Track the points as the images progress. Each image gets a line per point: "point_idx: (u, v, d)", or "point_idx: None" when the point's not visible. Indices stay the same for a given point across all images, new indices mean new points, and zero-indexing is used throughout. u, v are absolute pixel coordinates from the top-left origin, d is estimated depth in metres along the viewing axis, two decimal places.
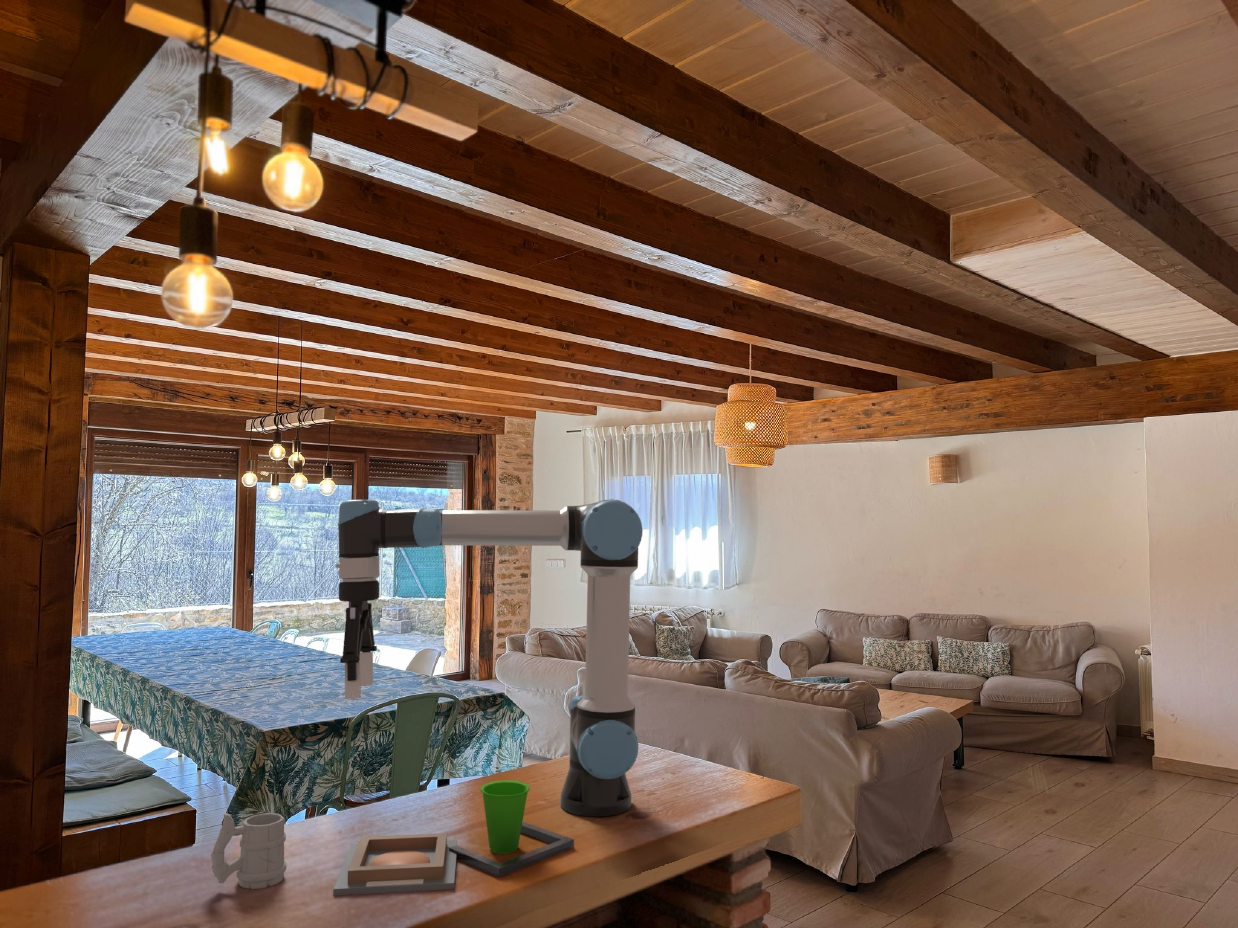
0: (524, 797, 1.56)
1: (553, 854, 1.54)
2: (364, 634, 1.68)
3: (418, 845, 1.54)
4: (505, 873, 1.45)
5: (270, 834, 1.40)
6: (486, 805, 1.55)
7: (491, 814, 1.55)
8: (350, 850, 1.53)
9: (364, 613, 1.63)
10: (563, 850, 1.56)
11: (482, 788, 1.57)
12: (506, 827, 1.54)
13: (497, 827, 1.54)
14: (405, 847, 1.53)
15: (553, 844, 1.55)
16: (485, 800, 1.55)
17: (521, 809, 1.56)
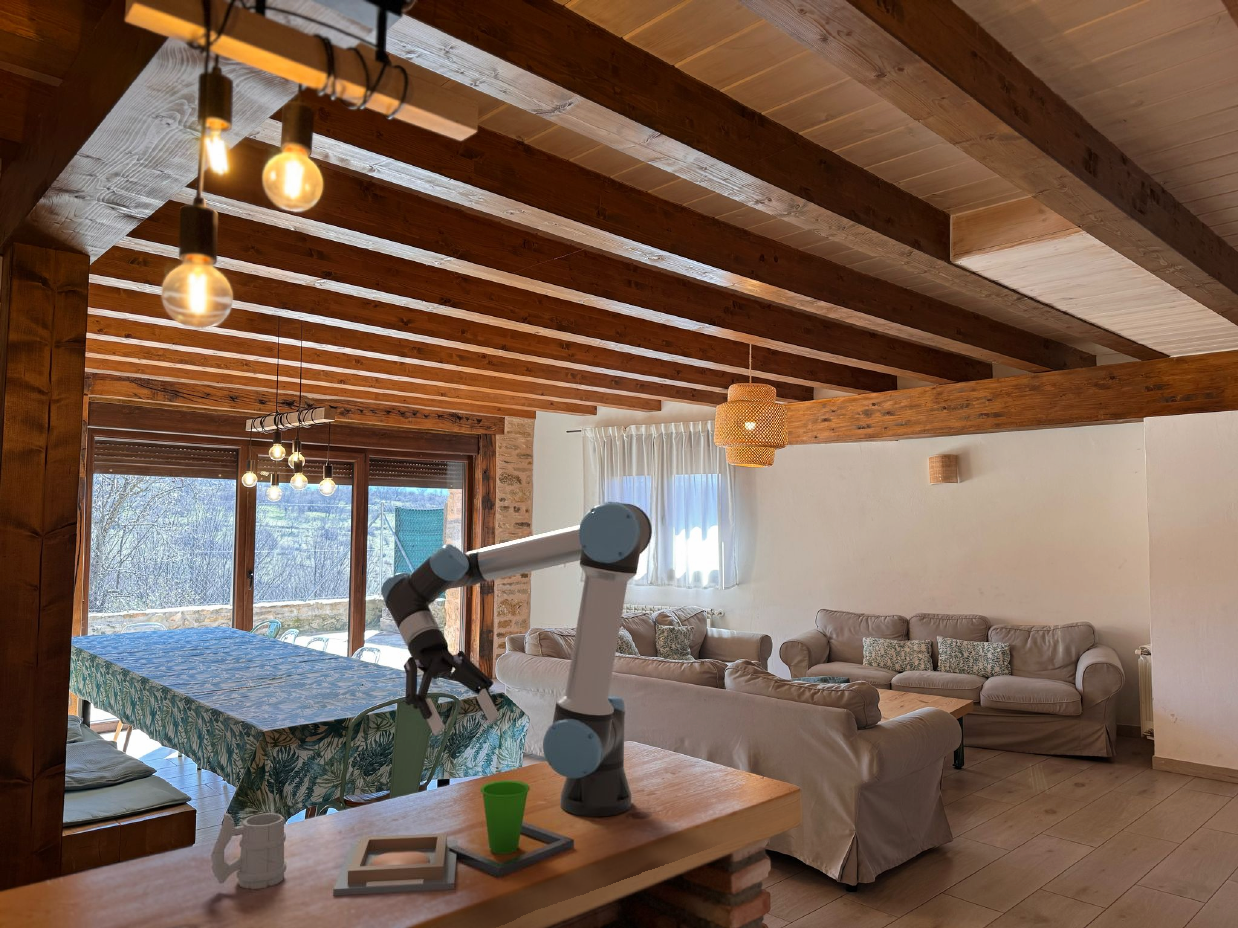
0: (524, 797, 1.56)
1: (553, 854, 1.54)
2: (463, 678, 1.74)
3: (418, 845, 1.54)
4: (505, 873, 1.45)
5: (270, 834, 1.40)
6: (486, 805, 1.55)
7: (491, 814, 1.55)
8: (350, 850, 1.53)
9: (431, 660, 1.71)
10: (563, 850, 1.56)
11: (482, 788, 1.57)
12: (506, 827, 1.54)
13: (497, 827, 1.54)
14: (405, 847, 1.53)
15: (553, 844, 1.55)
16: (485, 800, 1.55)
17: (521, 809, 1.56)
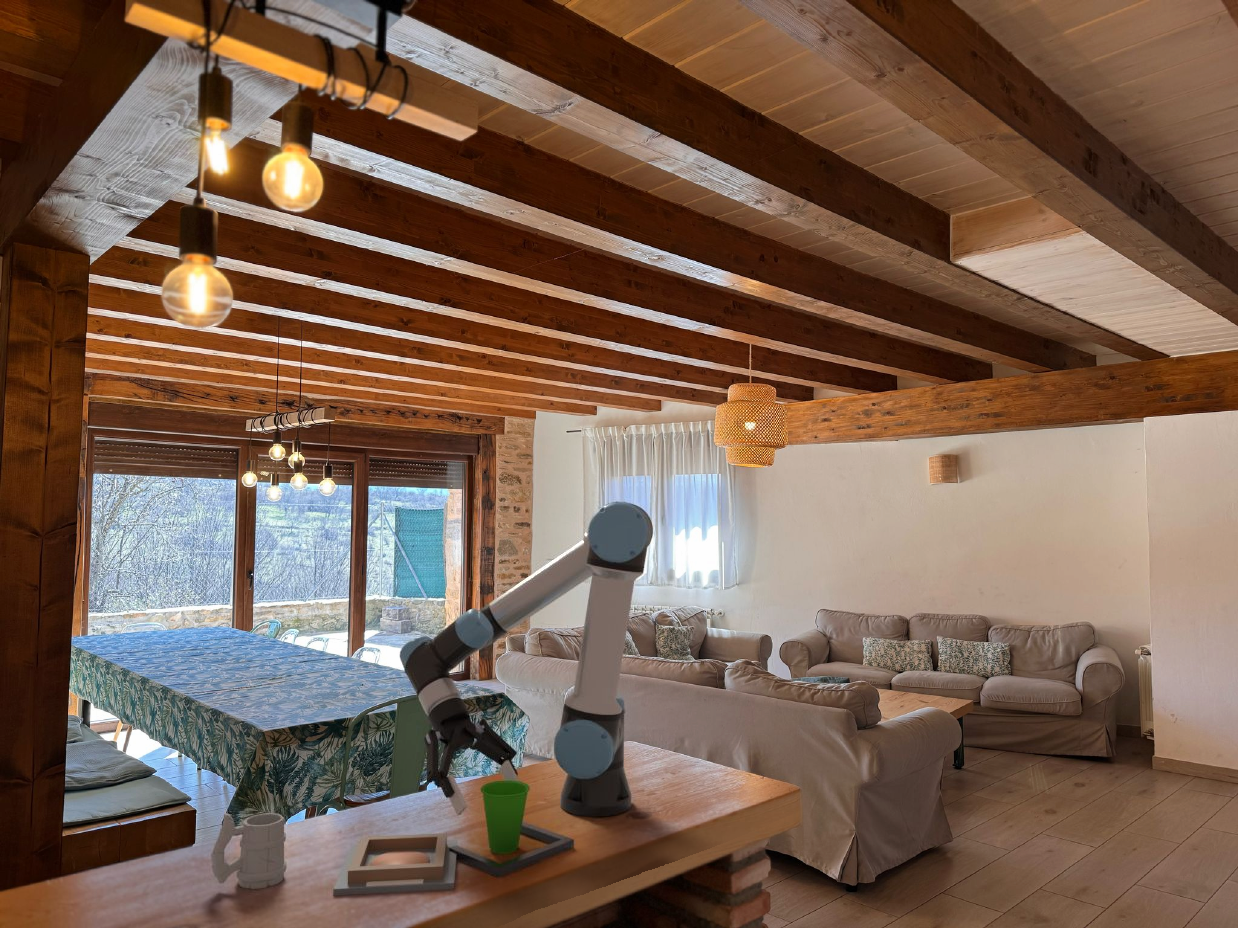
0: (524, 797, 1.56)
1: (553, 854, 1.54)
2: (486, 749, 1.67)
3: (418, 845, 1.54)
4: (505, 873, 1.45)
5: (270, 834, 1.40)
6: (486, 805, 1.55)
7: (491, 814, 1.55)
8: (350, 850, 1.53)
9: (452, 731, 1.64)
10: (563, 850, 1.56)
11: (482, 788, 1.57)
12: (506, 827, 1.54)
13: (497, 827, 1.54)
14: (405, 847, 1.53)
15: (553, 844, 1.55)
16: (485, 800, 1.55)
17: (521, 809, 1.56)
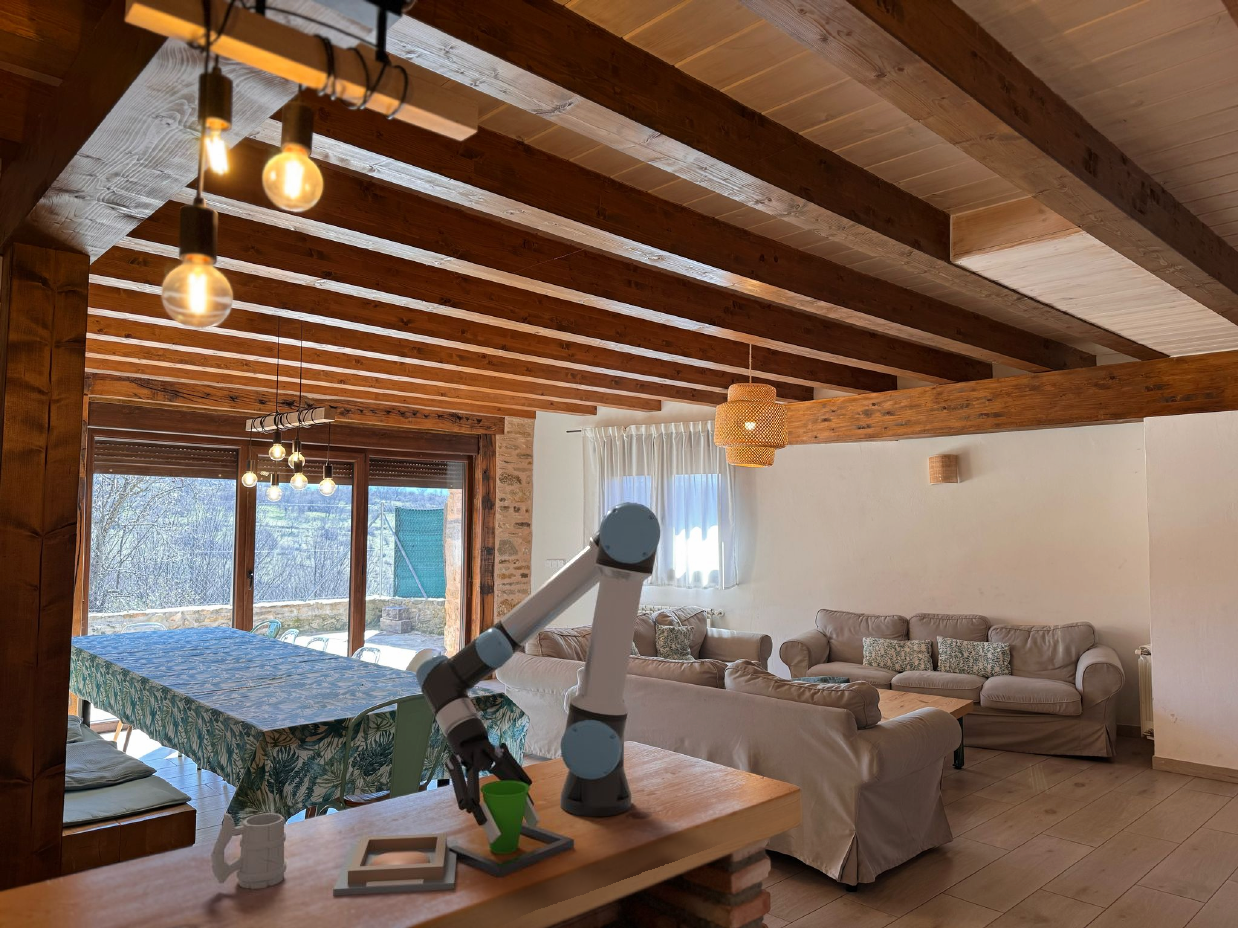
0: (524, 797, 1.56)
1: (553, 854, 1.54)
2: (502, 774, 1.63)
3: (418, 845, 1.54)
4: (505, 873, 1.45)
5: (270, 834, 1.40)
6: None
7: (491, 814, 1.55)
8: (350, 850, 1.53)
9: (472, 754, 1.61)
10: (563, 850, 1.56)
11: (482, 788, 1.57)
12: (506, 827, 1.54)
13: None
14: (405, 847, 1.53)
15: (553, 844, 1.55)
16: (485, 800, 1.55)
17: (521, 809, 1.56)
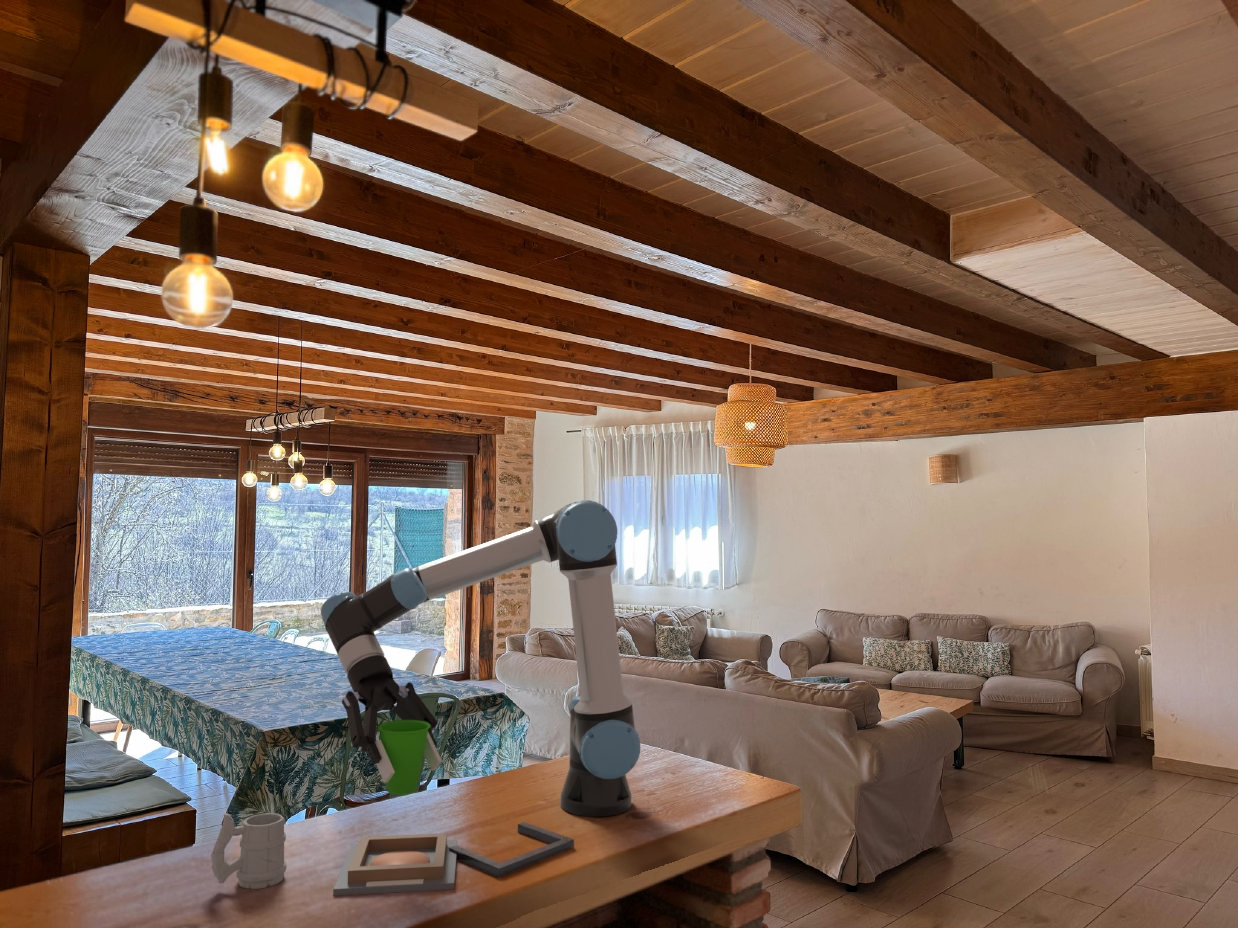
0: (423, 735, 1.48)
1: (553, 854, 1.54)
2: (405, 714, 1.55)
3: (418, 845, 1.54)
4: (505, 873, 1.45)
5: (270, 834, 1.40)
6: (382, 743, 1.47)
7: (387, 752, 1.46)
8: (350, 850, 1.53)
9: (372, 691, 1.53)
10: (563, 850, 1.56)
11: (379, 726, 1.49)
12: (402, 766, 1.46)
13: (393, 766, 1.46)
14: (405, 847, 1.53)
15: (553, 844, 1.55)
16: (381, 738, 1.47)
17: (419, 748, 1.47)
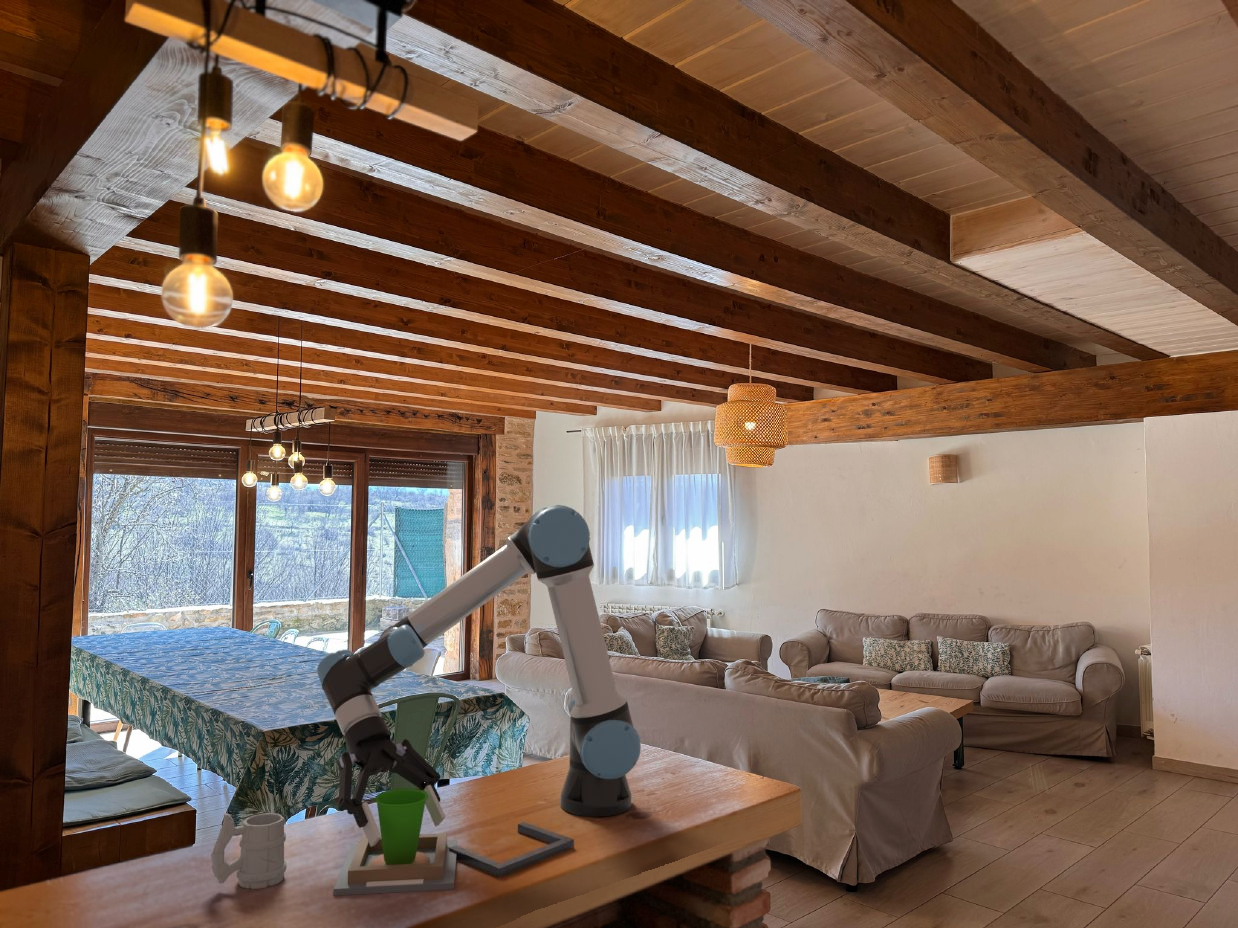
0: (421, 806, 1.47)
1: (553, 854, 1.54)
2: (406, 772, 1.55)
3: (418, 845, 1.54)
4: (505, 873, 1.45)
5: (270, 834, 1.40)
6: (380, 815, 1.46)
7: (384, 825, 1.45)
8: (350, 850, 1.53)
9: (369, 753, 1.52)
10: (563, 850, 1.56)
11: (377, 797, 1.48)
12: (400, 839, 1.45)
13: (390, 838, 1.45)
14: None
15: (553, 844, 1.55)
16: (379, 810, 1.46)
17: (417, 819, 1.46)
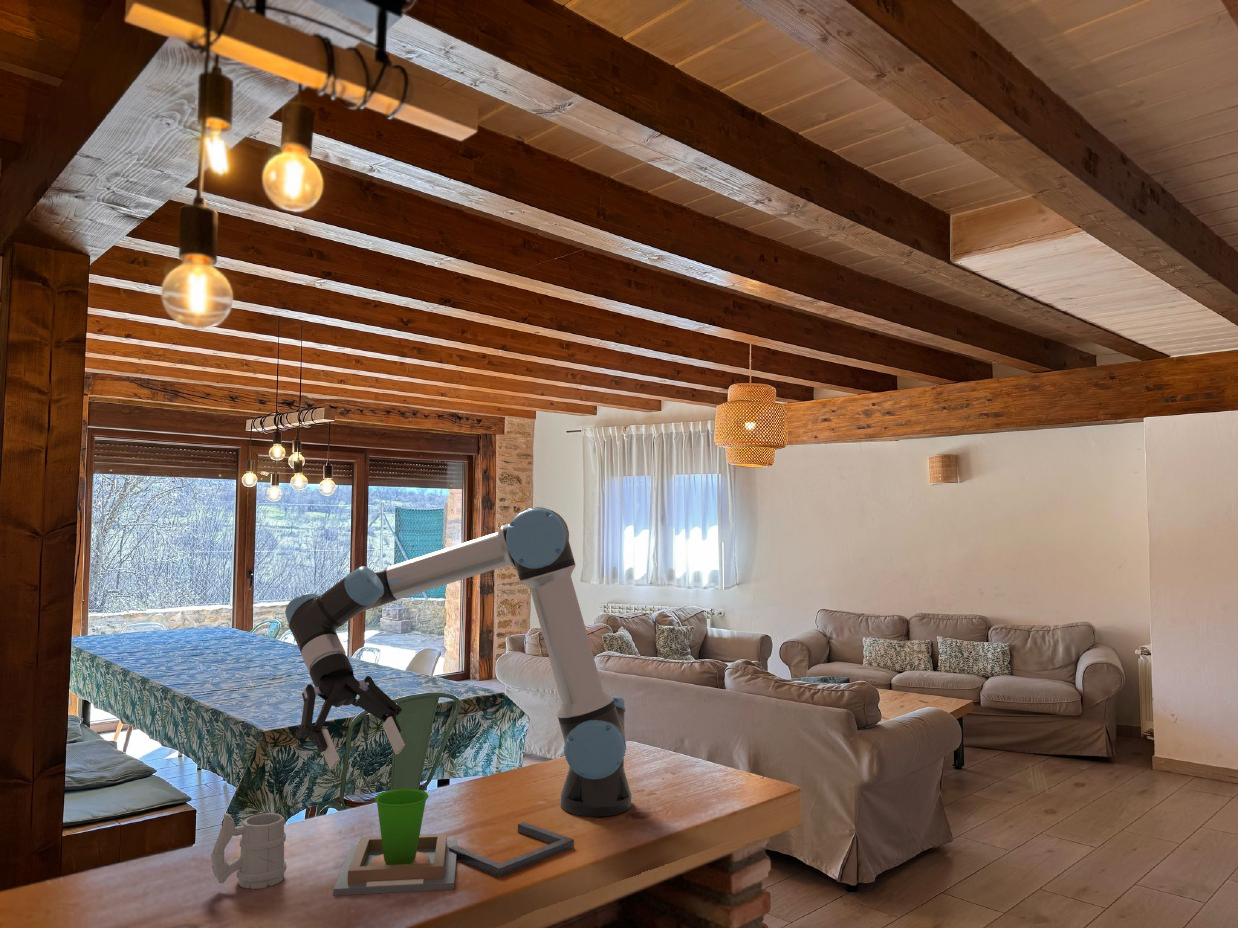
0: (421, 806, 1.47)
1: (553, 854, 1.54)
2: (369, 706, 1.64)
3: (418, 845, 1.54)
4: (505, 873, 1.45)
5: (270, 834, 1.40)
6: (380, 815, 1.46)
7: (384, 825, 1.45)
8: (350, 850, 1.53)
9: (332, 687, 1.61)
10: (563, 850, 1.56)
11: (377, 797, 1.48)
12: (400, 839, 1.45)
13: (390, 838, 1.45)
14: None
15: (553, 844, 1.55)
16: (379, 810, 1.46)
17: (417, 819, 1.46)
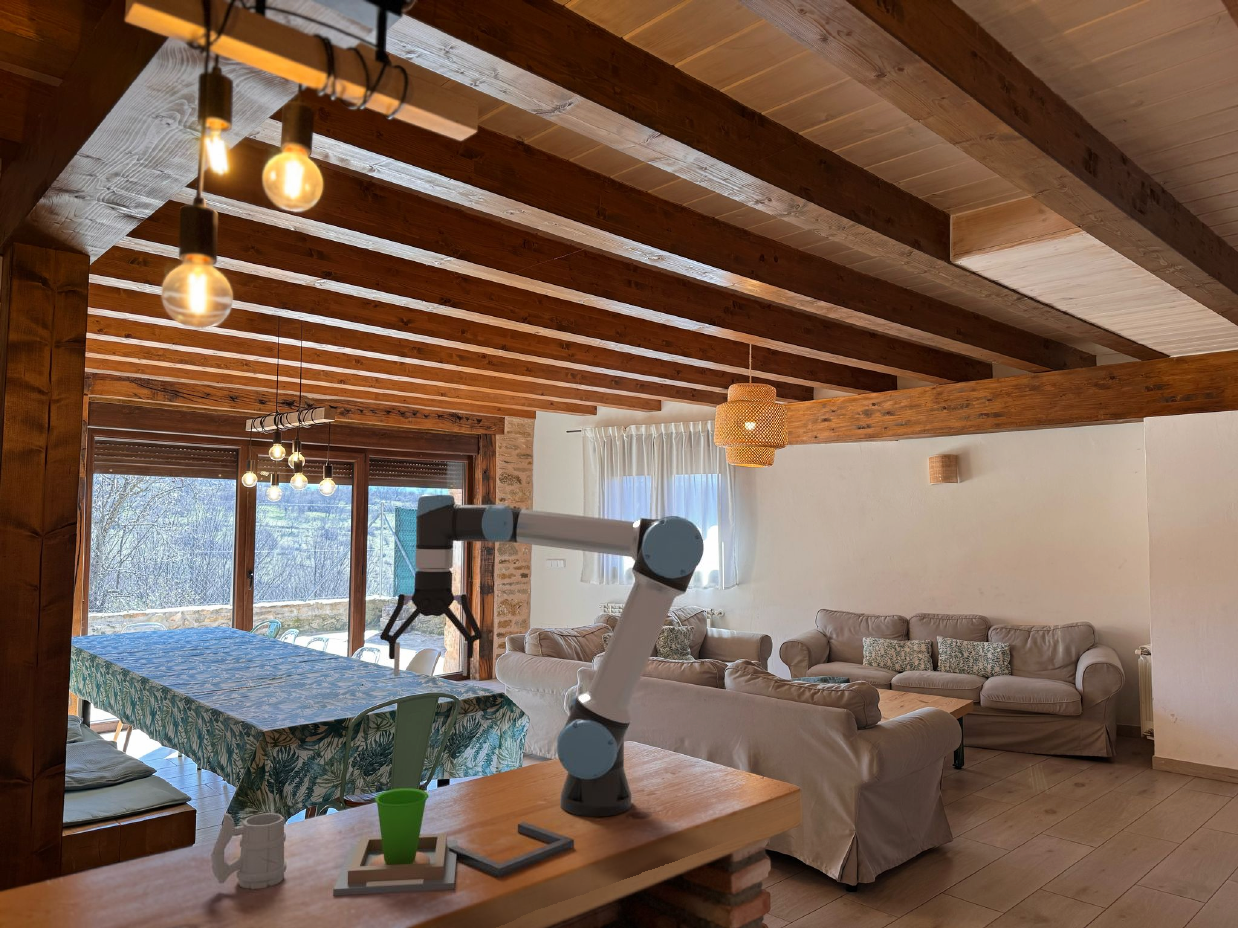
0: (421, 806, 1.47)
1: (553, 854, 1.54)
2: None
3: (418, 845, 1.54)
4: (505, 873, 1.45)
5: (270, 834, 1.40)
6: (380, 815, 1.46)
7: (384, 825, 1.45)
8: (350, 850, 1.53)
9: (422, 601, 1.73)
10: (563, 850, 1.56)
11: (377, 797, 1.48)
12: (400, 839, 1.45)
13: (390, 838, 1.45)
14: None
15: (553, 844, 1.55)
16: (379, 810, 1.46)
17: (417, 819, 1.46)
